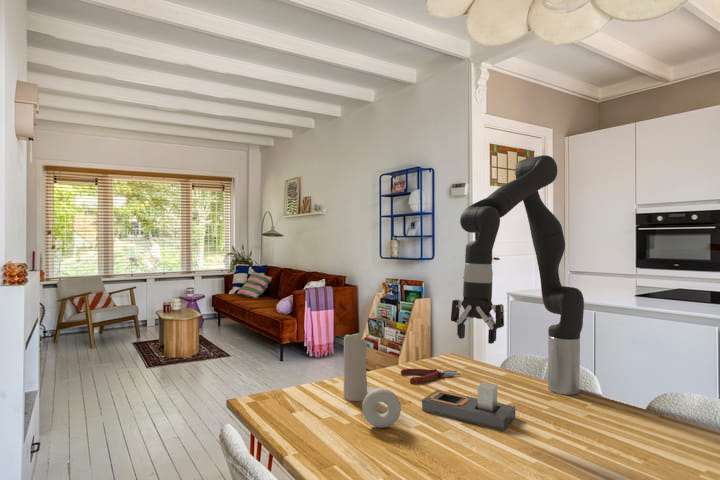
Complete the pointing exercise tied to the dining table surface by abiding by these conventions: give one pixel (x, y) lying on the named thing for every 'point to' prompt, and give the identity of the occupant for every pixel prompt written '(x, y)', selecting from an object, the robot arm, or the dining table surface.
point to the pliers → (427, 375)
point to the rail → (468, 410)
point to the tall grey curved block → (355, 368)
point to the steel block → (487, 397)
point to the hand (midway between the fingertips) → (475, 340)
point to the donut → (373, 415)
